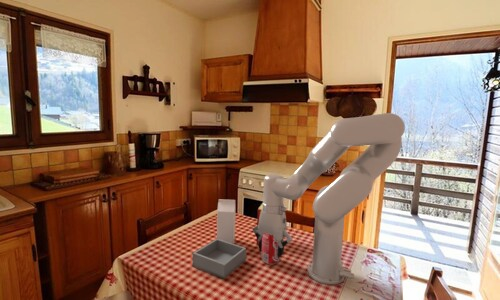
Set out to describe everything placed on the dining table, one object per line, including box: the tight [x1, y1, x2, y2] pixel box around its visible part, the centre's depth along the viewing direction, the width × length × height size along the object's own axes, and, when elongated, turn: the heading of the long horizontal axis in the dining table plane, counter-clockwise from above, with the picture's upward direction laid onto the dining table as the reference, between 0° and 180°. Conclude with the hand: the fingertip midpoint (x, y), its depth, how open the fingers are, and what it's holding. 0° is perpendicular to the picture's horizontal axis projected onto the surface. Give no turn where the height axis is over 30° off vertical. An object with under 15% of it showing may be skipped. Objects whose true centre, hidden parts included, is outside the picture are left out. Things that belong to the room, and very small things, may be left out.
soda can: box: [261, 232, 281, 265], centre depth 98 cm, size 7×7×12 cm
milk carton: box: [216, 198, 237, 244], centre depth 112 cm, size 7×7×19 cm
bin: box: [191, 238, 247, 280], centre depth 96 cm, size 14×14×5 cm
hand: (270, 252), depth 99 cm, fingers closed on soda can, 7 cm apart
